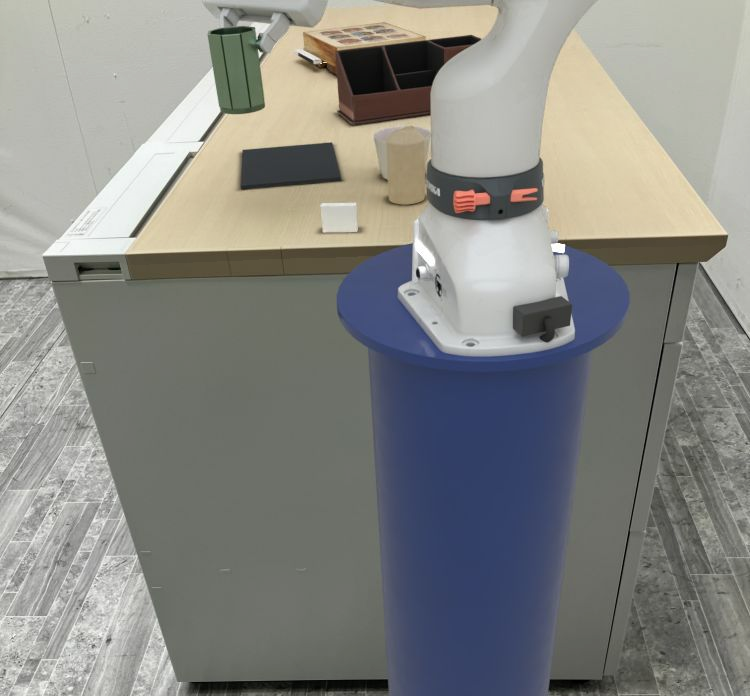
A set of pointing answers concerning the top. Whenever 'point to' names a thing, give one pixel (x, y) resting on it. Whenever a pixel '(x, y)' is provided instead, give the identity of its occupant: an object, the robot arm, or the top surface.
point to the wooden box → (350, 41)
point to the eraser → (339, 217)
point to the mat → (289, 165)
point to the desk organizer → (392, 78)
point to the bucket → (236, 69)
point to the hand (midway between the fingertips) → (241, 47)
